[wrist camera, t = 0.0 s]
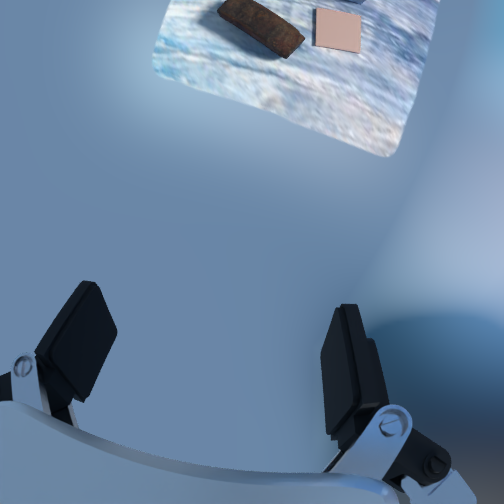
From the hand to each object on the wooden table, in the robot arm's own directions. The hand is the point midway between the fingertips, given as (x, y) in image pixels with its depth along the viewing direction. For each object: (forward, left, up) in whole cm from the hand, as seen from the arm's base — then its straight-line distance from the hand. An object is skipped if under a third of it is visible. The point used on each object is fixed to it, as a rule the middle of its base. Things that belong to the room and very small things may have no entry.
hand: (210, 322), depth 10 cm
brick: (-17, 0, -32) cm, 36 cm away
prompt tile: (-18, +10, -31) cm, 37 cm away
